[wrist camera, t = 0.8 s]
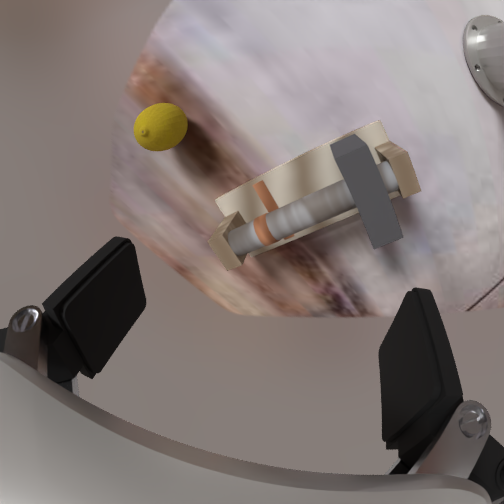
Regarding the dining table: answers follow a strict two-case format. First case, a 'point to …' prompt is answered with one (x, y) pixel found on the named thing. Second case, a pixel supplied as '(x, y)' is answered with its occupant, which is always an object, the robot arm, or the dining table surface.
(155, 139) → the lemon
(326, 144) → the pipe stand
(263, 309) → the dining table surface
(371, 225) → the grey frame
